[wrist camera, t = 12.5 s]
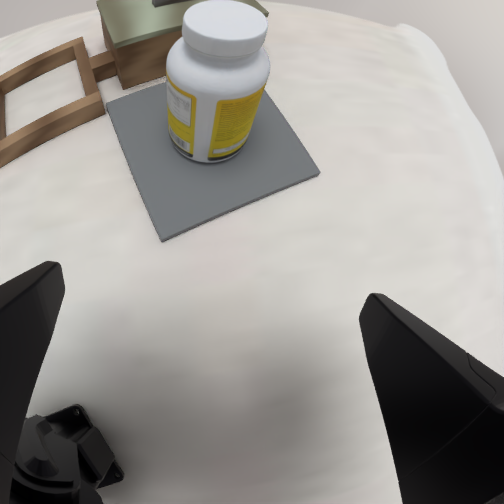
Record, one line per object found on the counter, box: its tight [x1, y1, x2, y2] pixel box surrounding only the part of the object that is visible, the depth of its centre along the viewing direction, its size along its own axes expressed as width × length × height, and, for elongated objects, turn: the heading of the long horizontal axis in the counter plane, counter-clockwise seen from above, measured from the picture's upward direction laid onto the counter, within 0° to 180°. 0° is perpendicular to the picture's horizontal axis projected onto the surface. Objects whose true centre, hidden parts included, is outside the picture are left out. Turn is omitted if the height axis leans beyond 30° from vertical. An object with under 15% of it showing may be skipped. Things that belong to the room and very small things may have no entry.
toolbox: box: [0, 0, 269, 168], centre depth 22 cm, size 28×11×7 cm, turn 119°
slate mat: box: [106, 82, 320, 242], centre depth 25 cm, size 14×14×1 cm
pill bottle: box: [166, 0, 270, 163], centre depth 19 cm, size 6×6×12 cm
